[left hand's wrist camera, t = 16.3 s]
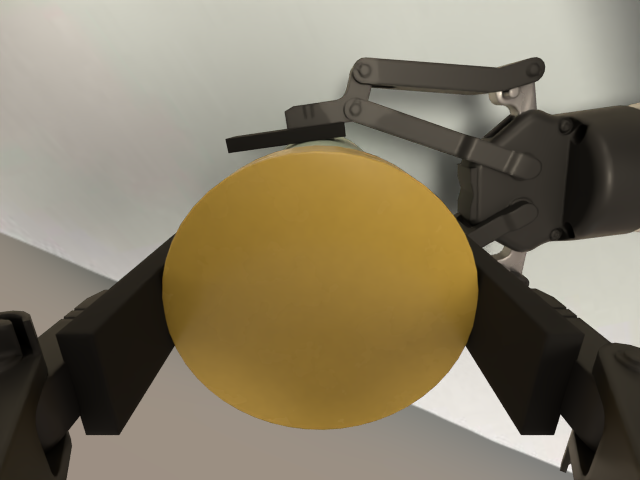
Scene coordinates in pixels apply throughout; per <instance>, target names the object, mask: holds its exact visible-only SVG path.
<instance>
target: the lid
mask: <svg viewBox="0 0 640 480" xmlns="http://www.w3.org/2000/svg"><path fill="white" fill-rule="evenodd" d="M162 300H163V306H164V312H165V317H166V322H167V326H168V330H169V333H170V335H171V338H172V340H173V342H174V344H175V347H176V349H177V350H178V352H179V354H180V355H181V357H182V359H183V360H184V362H185V364H186V365H187V366H188V367H189V369H190V370H191V371H192V372H193V374H194V375H195V376H196V377H197V378H198V379H199V380H200V381H201V382H202V383H203V384H204V385H205V386H206V387H207V388H208V389H209V390H210V391H212V392H213V393H214V394H215V395H217V396H218V397H219V398H221V399H222V400H223V401H225V402H226V403H228V404H230V405H231V406H233V407H235V408H237V409H238V410H240V411H242V412H244V413H247V414H249V415H251V416H253V417H256V418H258V419H262V420H264V421H267V422H270V423H274V424H279V425H283V426H287V427H293V428H301V429H319V430H326V429H340V428H347V427H353V426H359V425H362V424H366V423H370V422H373V421H377V420H379V419H382V418H384V417H387V416H389V415H392V414H394V413H396V412H398V411H400V410H402V409H404V408H406V407H408V406H409V405H411V404H412V403H414V402H415V401H417V400H418V399H420V398H421V397H423V396H424V395H425V394H426V393H428V392H429V391H430V390H431V389H432V388H433V387H435V386H436V385H437V384H438V383H439V382H440V381H441V380H442V378H443V377H444V376H445V375H446V374H447V373H448V372H449V371H450V369H451V368H452V366H453V365H454V364H455V362H456V361H457V360H458V358H459V356H460V354H461V353H462V351H463V349H464V347H465V345H466V343H467V341H468V338H469V336H470V333H471V331H472V328H473V324H474V319H475V313H476V308H477V301H478V278H477V269H476V265H475V261H474V257H473V252H472V250H471V247H470V245H469V242H468V240H467V238H466V235H465V233H464V231H463V230H462V228H461V226H460V225H459V223H458V221H457V220H456V218H455V216H454V215H453V214H452V213H451V212H450V210H449V209H448V208H447V207H446V206H445V204H444V203H443V202H442V201H441V200H440V199H439V198H438V197H437V196H436V195H435V194H434V193H432V192H431V191H430V190H429V189H428V188H427V187H426V186H425V185H423V184H422V183H420V182H419V181H417V180H416V179H415V178H413V177H412V176H410V175H409V174H407V173H406V172H404V171H403V170H401V169H400V168H398V167H397V166H395V165H394V164H392V163H390V162H388V161H386V160H384V159H381V158H379V157H377V156H375V155H372V154H369V153H365V152H362V151H359V150H356V149H350V148H344V147H339V146H321V145H314V146H303V147H294V148H290V149H286V150H282V151H277V152H274V153H271V154H269V155H266V156H264V157H261V158H258V159H256V160H254V161H253V162H251V163H249V164H247V165H245V166H244V167H242V168H240V169H238V170H237V171H236V172H234V173H233V174H231V175H230V176H228V177H227V178H226V179H224V180H223V181H222V182H220V183H219V184H218V185H216V186H215V187H214V188H212V189H211V190H210V191H208V192H207V193H206V194H205V195H204V196H203V198H202V199H201V200H200V201H199V202H198V203H197V204H196V205H195V206H194V207H193V208H192V209H191V211H190V212H189V213H188V215H187V216H186V218H185V219H184V220H183V222H182V223H181V225H180V227H179V229H178V231H177V233H176V234H175V236H174V238H173V240H172V243H171V246H170V249H169V251H168V254H167V257H166V261H165V267H164V272H163V278H162Z"/></svg>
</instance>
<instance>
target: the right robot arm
mask: <svg viewBox="0 0 640 480" xmlns="http://www.w3.org/2000/svg"><path fill="white" fill-rule="evenodd" d="M544 72H545V64H544V62H543V61H542V59H540V58H538V57H534V58H529V59H525V60H522V61H518V62H514V63H511V64H507V65H504V66H500V67H497V68H496V67H483V66H469V65H456V64H443V63H430V62H417V61H404V60H391V59H378V58H361V59H359V60H358V61H357V62H356V63H355V64H354V66H353V67H352V69H351V71H350V74H349V80H348V85H347V89H346V92H345V94H344V96H343V97H342V98H340V99H338V100H334V101H327V102H320V103H313V104H307V105H300V106H293V107H292V108H290V109H288V110H287V111H285V117H286V123H287V129H283V130H276V131H269V132H262V133H256V134H249V135H242V136H236V137H232V138H228V139H226V144H227V148H228V153H233V152H240V151H247V150H254V149H261V148H268V147H275V146H282V145H289V144H296V143H303V142H310V141H317V140H325V139H332V138H339V137H346V134H345V125H344V122H351V121H353V122H356V123H359V124H362V125H365V126H368V127H371V128H373V129H376V130H379V131H382V132H385V133H388V134H391V135H394V136H397V137H400V138H403V139H406V140H409V141H412V142H415V143H418V144H421V145H424V146H426V147H429V148H432V149H435V150H438V151H441V152H444V153H447V154H450V155H453V156H456V157H459V158H462V161H461V164H458V179H459V183H460V186H461V190H460V194H459V198H458V213H456V214H455V215H454V216H455V218H456V220H457V221H458V223H459V225H460V226H461V228H462V230H463V231H464V233H465V234H466V235H467V236H468V237H470V238H471V239H472V240H473V241H474V242H476V243H477V244H478V245H479V246H480V247H484V246H486V245H488V244H489V243H491V242H493V241H497V242H498V243H500V244H502V245H504V248H503V250H502V251H501V252H500V253H498V254H494V255H491V256H492V257H493V258H495V259H496V260H497V261H498V262H499V263H501V264H502V265H503V266H504V267H505V268H507V269H508V270H509V271H510V272H511V273H512V274H514V275H515V276H516V277H517V278H518V279H520V280H521V281H522V282H523V283H524V284H526V285H527V286H529V281H528V279H527V278H526V277H525V276H523V275H522V270H523V265H524V261H525V256H526V252H528V251H531V250H533V249H535V248H536V247H538V246H539V245H541V244H544V243H546V242H550V241H570V240H579V239H587V238H595V237H603V236H611V235H619V234H627V233H630V232H633V231H634V232H640V103H636V104H631V105H628V106H621V105H620V106H611V107H604V108H597V109H590V110H583V111H576V112H569V113H562V114H555V115H551V114H548V113H545V112H544V111H541V110H537V107H536V93H535V82H536V81H538V80H539V79H540V78H541V77H542V76H543V74H544ZM371 88H382V89H396V90H409V91H422V92H436V93H449V94H462V95H478V94H487V93H489V99H490V101H491V103H493V104H494V105H504V106H506V107H507V108H508V109H509V110H510V115H509V116H507V117H506V118H505V119H504V120H503V121H502V122H500V123H499V124H498V125H497V126H496V127H495V128H494V129H492V130H491V131H490V132H489V133H488V134H487V135H485V136H484V137H483V138H482V139H479V138H476V137H472V136H469V135H465V134H462V133H459V132H456V131H453V130H451V129H448V128H445V127H442V126H439V125H436V124H433V123H430V122H428V121H425V120H422V119H419V118H416V117H413V116H410V115H407V114H405V113H402V112H399V111H396V110H393V109H390V108H387V107H384V106H382V105H379V104H376V103H373V102H370V101H368V99H369V94H370V90H371ZM471 227H472V228H471Z"/></svg>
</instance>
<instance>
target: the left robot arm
mask: <svg viewBox="0 0 640 480" xmlns="http://www.w3.org/2000/svg"><path fill="white" fill-rule="evenodd" d="M175 234H176V233H175ZM175 234H174V235H173V236H172V237H171V238H169V239H168V240H167V241H166V242H165V243H163V244H162V245H161V246H160V247H159V248H158V249H156V250H155V251H154V252H153V253H152V254H150V255H149V256H148V257H147V258H146V259H144V260H143V261H142V262H141V263H140V264H138V265H137V266H136V267H135V268H134V269H133V270H131V271H130V272H129V273H128V274H127V275H125V276H124V277H123V278H122V279H121V280H119V281H118V282H117V283H116V284H115V285H114V286H112V287H111V288H110V289H109V290H103V291H101V292H99V293H97V294H95V295H93V296H91V297H89V298H87V299H86V300H85V301H83V302H82V303H81V304H79V305H78V306H77V307H76V308H75V310H74V311H71V312H69V313H68V314H67V315H66V316H64V319H61V320H59V321H58V322H57V323H56V324H54V325H53V326H52V327H51V328H49V329H48V330H47V331H46V332H44V333H43V334H42V335H41V336H40V337H37V334H36V331H35V328H34V325H33V322H32V319H31V316H30V314H28V313H26V312H24V311H6V312H0V480H66V478H67V472H68V467H69V460H70V454H71V448H72V443H71V438H70V435H69V432H68V430H69V429H70V428H71V426H72V425H73V424H74V423H75V421H76V420H77V419H78V418H79V416H81V420H82V423H83V426H84V429H85V433H86V435H120V433H121V431H122V430H123V428H124V426H125V425H126V423H127V422H128V420H129V418H130V417H131V415H132V413H133V412H134V410H135V409H136V407H137V406H138V404H139V402H140V401H141V399H142V398H143V396H144V394H145V393H146V391H147V389H148V388H149V386H150V385H151V383H152V381H153V380H154V378H155V377H156V375H157V373H158V372H159V370H160V369H161V367H162V365H163V364H164V362H165V360H166V359H167V357H168V356H169V354H170V352H171V351H172V349H173V348H174V346H175V344H174V342H173V340H172V338H171V335H170V333H169V330H168V326H167V322H166V317H165V312H164V306H163V300H162V278H163V272H164V267H165V261H166V257H167V254H168V251H169V249H170V246H171V243H172V240H173V238H174V236H175ZM465 235H466V234H465ZM466 238H467V240H468V242H469V245H470V247H471V250H472V252H473V257H474V261H475V265H476V269H477V278H478V301H477V308H476V313H475V319H474V324H473V328H472V331H471V333H470V336H469V338H468V341H467V343H466V345H465V346H466V347H467V349H468V350H469V352H470V354H471V355H472V357H473V359H474V360H475V362H476V363H477V365H478V367H479V368H480V370H481V371H482V373H483V375H484V376H485V378H486V379H487V381H488V383H489V384H490V386H491V387H492V389H493V391H494V392H495V394H496V396H497V397H498V399H499V400H500V402H501V404H502V405H503V407H504V408H505V410H506V412H507V413H508V415H509V416H510V418H511V420H512V421H513V423H514V424H515V426H516V428H517V429H518V431H519V433H520V434H521V435H554V434H555V430H556V427H557V424H558V421H559V417H560V414H561V415H562V417H563V418H564V419H565V420H566V422H567V423H568V424H569V425H570V427H571V428H572V432H571V435H570V438H569V441H568V444H567V447H566V450H565V453H564V456H563V459H562V462H561V467H560V471H563V472H565V473H566V471H567V468H568V465H569V464H571V465H572V471H573V477H574V480H640V348H639V347H635V346H632V345H627V344H620V343H611V342H609V341H608V340H607V339H606V338H604V337H603V336H602V335H601V334H599V333H598V332H597V331H596V330H594V329H593V328H592V327H591V326H589V325H588V324H587V323H585V322H584V321H583V320H582V319H580V318H577V315H575V314H574V313H573V312H572V311H570V310H569V309H566V307H565V306H564V305H563V304H562V303H560V302H559V301H558V300H556V299H555V298H554V297H552V296H550V295H548V294H546V293H544V292H542V291H540V290H538V289H530V288H529V287H528V286H527V285H526V284H524V283H523V282H522V281H521V280H520V279H518V278H517V277H516V276H515V275H514V274H512V273H511V272H510V271H509V270H508V269H507V268H505V267H504V266H503V265H502V264H501V263H499V262H498V261H497V260H496V259H495V258H493V257H492V256H491V255H490V254H489V253H487V252H486V251H485V250H484V249H483V248H482V247H480V246H479V245H478V244H477V243H476V242H474V241H473V240H472V239H471V238H470V237H468V236H467V235H466Z"/></svg>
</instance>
